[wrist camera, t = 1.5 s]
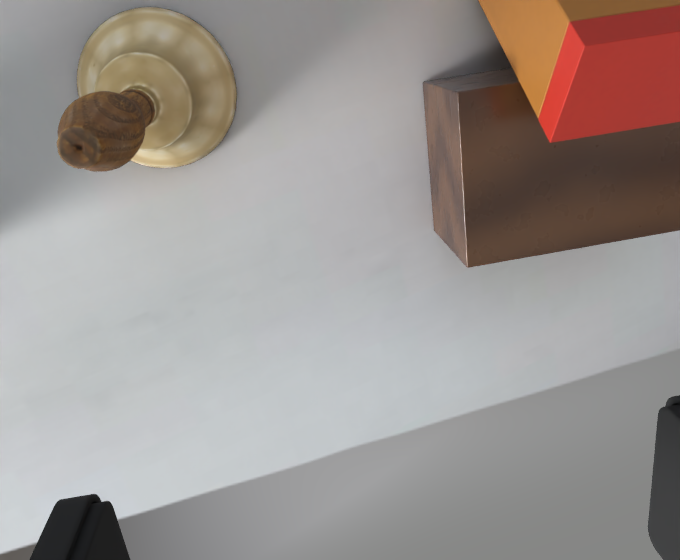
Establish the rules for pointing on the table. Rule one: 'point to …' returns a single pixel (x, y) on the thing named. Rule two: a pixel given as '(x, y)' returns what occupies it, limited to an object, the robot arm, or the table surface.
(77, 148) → the hand bell
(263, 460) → the table surface
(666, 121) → the container
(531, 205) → the walnut box
